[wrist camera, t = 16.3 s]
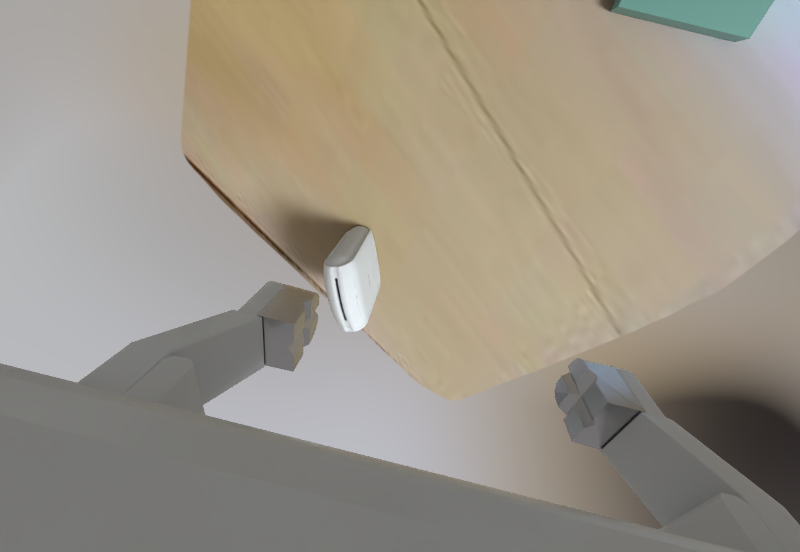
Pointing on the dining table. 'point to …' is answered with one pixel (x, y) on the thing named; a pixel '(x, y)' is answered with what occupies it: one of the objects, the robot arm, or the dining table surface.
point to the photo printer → (352, 278)
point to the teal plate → (700, 15)
